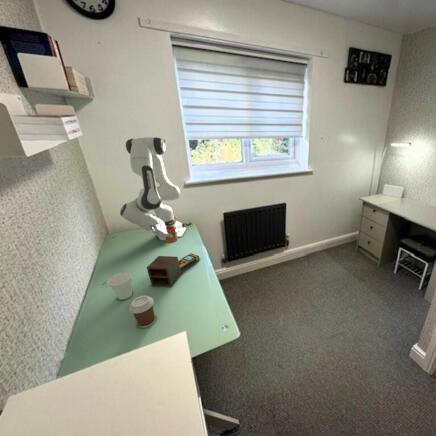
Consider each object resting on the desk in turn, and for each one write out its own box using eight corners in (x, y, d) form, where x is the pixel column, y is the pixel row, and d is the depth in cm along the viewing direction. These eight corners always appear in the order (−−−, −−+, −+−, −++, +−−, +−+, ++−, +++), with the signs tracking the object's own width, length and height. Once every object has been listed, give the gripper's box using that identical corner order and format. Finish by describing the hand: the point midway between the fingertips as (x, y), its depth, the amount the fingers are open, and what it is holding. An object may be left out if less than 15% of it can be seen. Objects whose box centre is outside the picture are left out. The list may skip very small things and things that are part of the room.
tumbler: (169, 238, 153) (166, 225, 150) (179, 238, 153) (176, 226, 149) (164, 243, 147) (161, 230, 144) (174, 243, 147) (171, 230, 143)
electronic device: (169, 269, 141) (168, 265, 140) (190, 256, 154) (189, 252, 153) (179, 273, 138) (178, 268, 136) (200, 260, 151) (199, 255, 149)
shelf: (162, 273, 138) (158, 255, 133) (181, 274, 137) (177, 256, 132) (151, 285, 128) (146, 267, 123) (171, 286, 127) (166, 268, 122)
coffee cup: (147, 332, 100) (140, 311, 95) (130, 327, 103) (122, 306, 98) (163, 316, 108) (157, 296, 104) (147, 312, 111) (140, 292, 106)
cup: (141, 290, 124) (136, 273, 120) (127, 303, 115) (121, 285, 111) (123, 288, 125) (117, 271, 121) (108, 302, 116) (101, 284, 112)
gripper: (155, 225, 132) (177, 236, 141) (152, 213, 148) (172, 223, 157) (147, 234, 132) (170, 245, 140) (146, 220, 147) (166, 231, 156)
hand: (171, 233), depth 149 cm, fingers closed on tumbler, 6 cm apart
